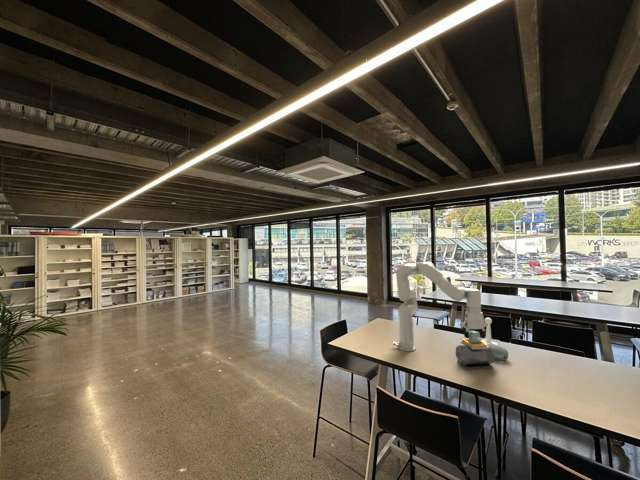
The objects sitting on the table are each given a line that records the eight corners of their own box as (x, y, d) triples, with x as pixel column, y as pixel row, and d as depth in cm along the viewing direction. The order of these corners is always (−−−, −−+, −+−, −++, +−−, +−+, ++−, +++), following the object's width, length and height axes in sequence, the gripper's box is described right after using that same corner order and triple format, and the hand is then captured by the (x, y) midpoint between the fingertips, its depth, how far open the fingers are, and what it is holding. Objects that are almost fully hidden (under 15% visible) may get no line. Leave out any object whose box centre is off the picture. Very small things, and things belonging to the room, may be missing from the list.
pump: (475, 347, 154) (475, 335, 154) (466, 342, 163) (466, 330, 163) (485, 347, 155) (485, 335, 155) (475, 341, 164) (475, 330, 164)
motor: (467, 370, 154) (466, 345, 154) (455, 361, 165) (455, 338, 165) (497, 368, 155) (497, 344, 156) (484, 360, 166) (484, 337, 167)
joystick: (498, 346, 190) (497, 318, 191) (495, 349, 185) (495, 320, 185) (481, 342, 198) (480, 315, 199) (477, 344, 193) (477, 317, 193)
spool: (511, 353, 169) (505, 341, 168) (510, 365, 163) (504, 352, 161) (487, 352, 179) (481, 341, 177) (485, 363, 172) (479, 351, 170)
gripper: (464, 311, 156) (464, 340, 156) (491, 310, 158) (491, 339, 157) (456, 308, 164) (456, 335, 163) (482, 307, 165) (483, 335, 165)
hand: (474, 337), depth 160 cm, fingers open, 9 cm apart
